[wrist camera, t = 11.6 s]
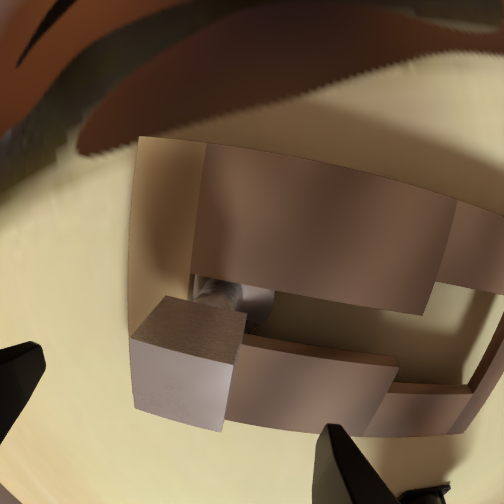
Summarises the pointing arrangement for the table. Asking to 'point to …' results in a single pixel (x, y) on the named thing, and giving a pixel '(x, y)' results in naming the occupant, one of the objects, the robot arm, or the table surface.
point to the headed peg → (195, 351)
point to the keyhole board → (313, 276)
